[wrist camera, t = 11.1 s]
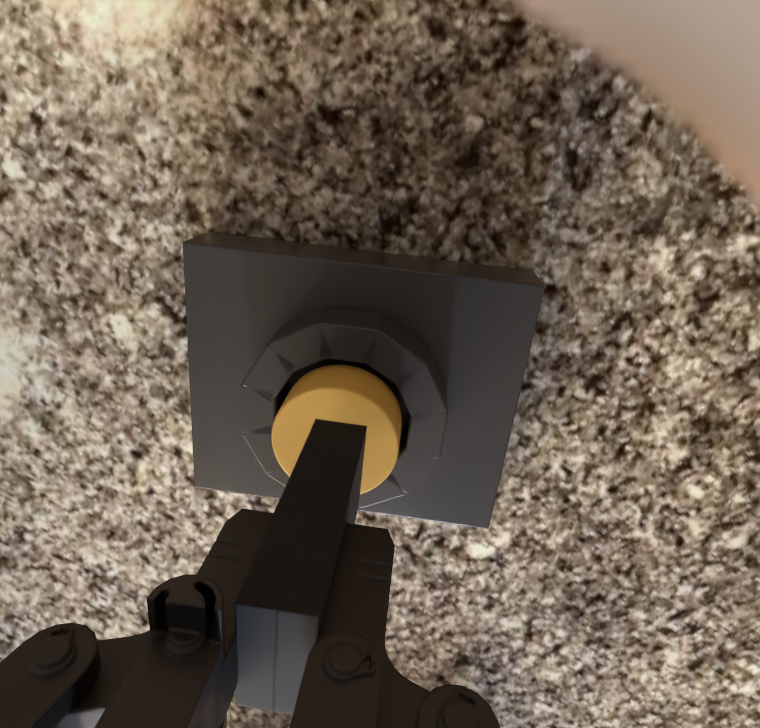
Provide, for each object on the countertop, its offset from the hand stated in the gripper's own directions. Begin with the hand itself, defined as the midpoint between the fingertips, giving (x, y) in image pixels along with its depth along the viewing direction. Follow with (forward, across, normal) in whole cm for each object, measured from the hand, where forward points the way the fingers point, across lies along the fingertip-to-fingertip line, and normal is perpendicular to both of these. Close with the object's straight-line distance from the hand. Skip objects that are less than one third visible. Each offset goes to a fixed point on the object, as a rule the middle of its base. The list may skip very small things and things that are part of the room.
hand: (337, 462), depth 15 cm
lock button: (+3, 0, 0) cm, 3 cm away
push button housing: (+6, 0, 0) cm, 6 cm away
